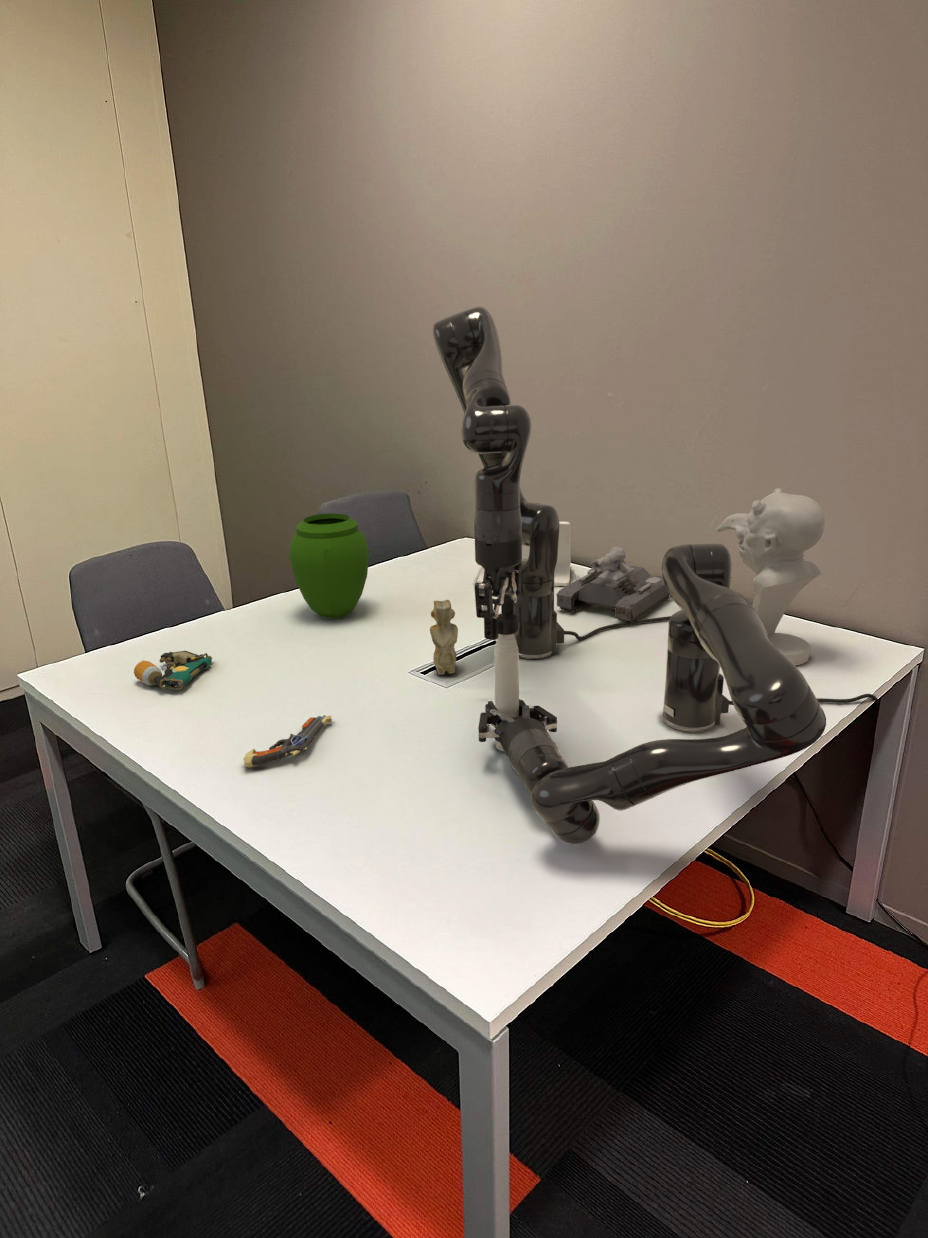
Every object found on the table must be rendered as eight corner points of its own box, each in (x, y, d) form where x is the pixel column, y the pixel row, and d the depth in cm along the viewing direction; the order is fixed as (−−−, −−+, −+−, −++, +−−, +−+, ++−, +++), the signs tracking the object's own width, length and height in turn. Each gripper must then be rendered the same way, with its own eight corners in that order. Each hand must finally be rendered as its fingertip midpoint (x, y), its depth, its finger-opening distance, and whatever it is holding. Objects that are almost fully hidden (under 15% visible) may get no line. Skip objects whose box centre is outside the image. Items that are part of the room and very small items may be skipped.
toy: (603, 584, 229) (605, 530, 224) (673, 597, 218) (677, 540, 213) (555, 612, 210) (556, 553, 205) (630, 627, 199) (633, 566, 194)
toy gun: (238, 757, 142) (294, 755, 140) (282, 713, 160) (332, 710, 158) (241, 772, 143) (297, 770, 141) (284, 726, 161) (334, 724, 159)
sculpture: (458, 662, 183) (456, 596, 178) (460, 676, 176) (457, 608, 171) (431, 663, 183) (428, 597, 177) (431, 677, 176) (428, 609, 171)
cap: (498, 636, 139) (498, 622, 138) (491, 628, 143) (491, 614, 142) (521, 633, 140) (521, 619, 139) (513, 625, 143) (513, 611, 143)
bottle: (514, 738, 151) (513, 614, 143) (522, 749, 148) (522, 623, 139) (492, 742, 150) (490, 617, 142) (500, 753, 146) (498, 626, 138)
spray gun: (177, 659, 191) (231, 671, 185) (120, 684, 176) (176, 698, 171) (176, 641, 190) (230, 653, 184) (118, 665, 175) (174, 678, 169)
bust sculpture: (744, 623, 200) (759, 474, 187) (830, 658, 180) (852, 494, 167) (692, 637, 193) (703, 483, 180) (775, 674, 173) (793, 504, 160)
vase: (389, 608, 216) (383, 514, 208) (339, 633, 201) (330, 533, 192) (330, 596, 226) (322, 506, 218) (278, 619, 211) (267, 523, 202)
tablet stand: (569, 585, 229) (570, 524, 223) (476, 584, 232) (475, 523, 226) (570, 566, 246) (571, 508, 240) (484, 564, 249) (483, 507, 243)
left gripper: (494, 520, 143) (496, 613, 149) (457, 543, 131) (460, 643, 137) (536, 524, 140) (536, 619, 146) (502, 548, 128) (503, 650, 134)
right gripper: (487, 778, 133) (463, 728, 149) (574, 765, 136) (541, 718, 152) (486, 735, 131) (462, 689, 146) (575, 724, 133) (542, 679, 149)
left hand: (500, 630), depth 141 cm, fingers open, 6 cm apart
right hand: (503, 704), depth 149 cm, fingers closed on bottle, 4 cm apart
